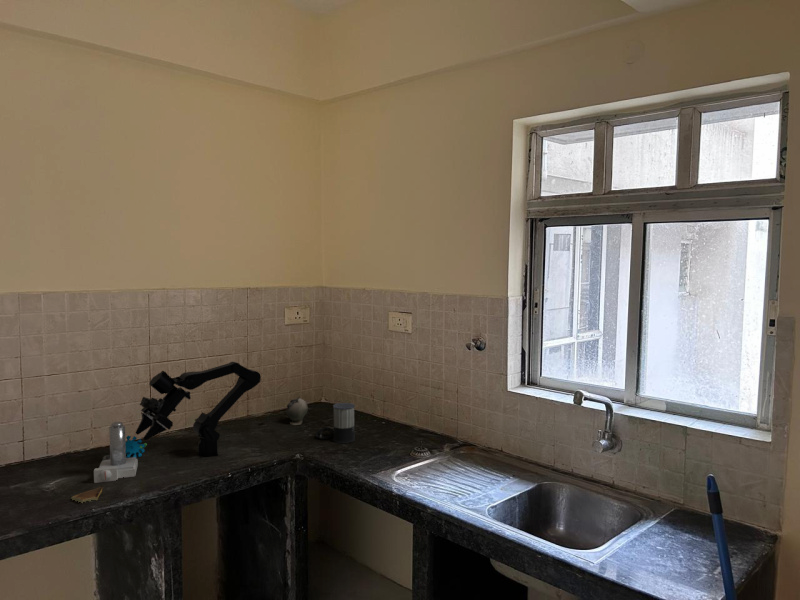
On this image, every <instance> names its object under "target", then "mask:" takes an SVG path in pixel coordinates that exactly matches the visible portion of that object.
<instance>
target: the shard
mask: <svg viewBox="0 0 800 600" xmlns="http://www.w3.org/2000/svg"><path fill="white" fill-rule="evenodd" d="M103 489H104V486H103V485H102V486H99V487H96V488H93V489H90V490H89V489H88V490H87V491H83V492H81V493H78V494H75V495H72V496H71V498H70V500H71V499H72V500H71V501H73V500H75V501H74V502H77V501H78V502H77V503H79V502H81V503H82V504H84V503H83V502H85V503H87V502H86V501H89V502H92V501H91V500H96V501H98V500H99V497H100V495H101V494H102V492H103ZM81 503H80V504H81Z"/></svg>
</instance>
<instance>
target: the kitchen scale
mask: <svg viewBox="0 0 800 600" xmlns="http://www.w3.org/2000/svg"><path fill="white" fill-rule="evenodd" d="M138 459H139V458H137V457H133V456H131V457H130V458H127V457H126V463H125V464H123V465H118V466H112V465H110V459H109V460H106V459H105V460H103V459H102V461H101V462H100V463H99V467H98V468H97V467H96V468H94V470H93V483H94V484H98V483H107V482H115V481H116V480H117V481H118V479H123V477H124V478H130V477H132V478H134V477H136V474H137V470H138V465H139V464H138V463H139V462H138V461H139V460H138Z"/></svg>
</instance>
